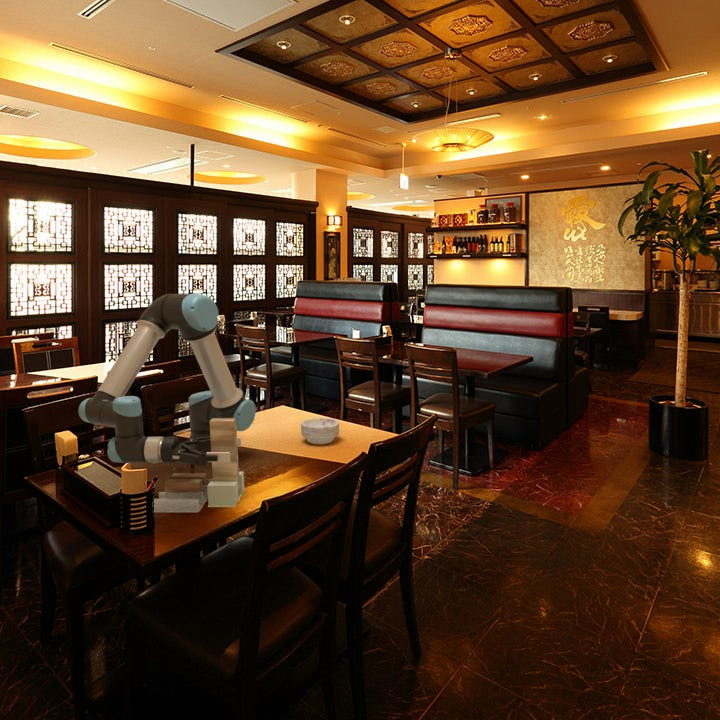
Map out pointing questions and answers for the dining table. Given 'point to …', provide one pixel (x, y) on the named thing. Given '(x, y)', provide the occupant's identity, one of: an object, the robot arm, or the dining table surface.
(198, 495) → the offcut rack
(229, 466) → the tall board
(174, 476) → the offcut
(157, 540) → the dining table surface
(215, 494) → the slot holder
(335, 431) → the white bowl
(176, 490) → the block
